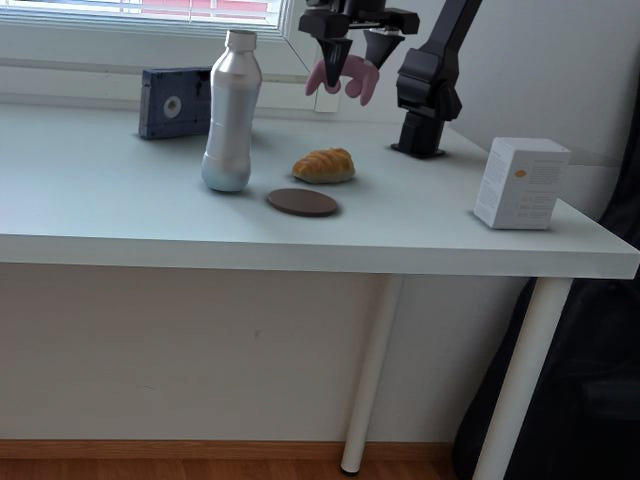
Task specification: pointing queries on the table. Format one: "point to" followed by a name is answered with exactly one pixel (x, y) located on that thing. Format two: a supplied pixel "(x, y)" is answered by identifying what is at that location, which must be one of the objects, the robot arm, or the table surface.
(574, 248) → the table surface
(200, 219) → the table surface
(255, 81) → the plastic bottle
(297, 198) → the walnut coaster
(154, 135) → the vhs cassette tape
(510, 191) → the small box
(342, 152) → the pastry
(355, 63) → the video game controller
